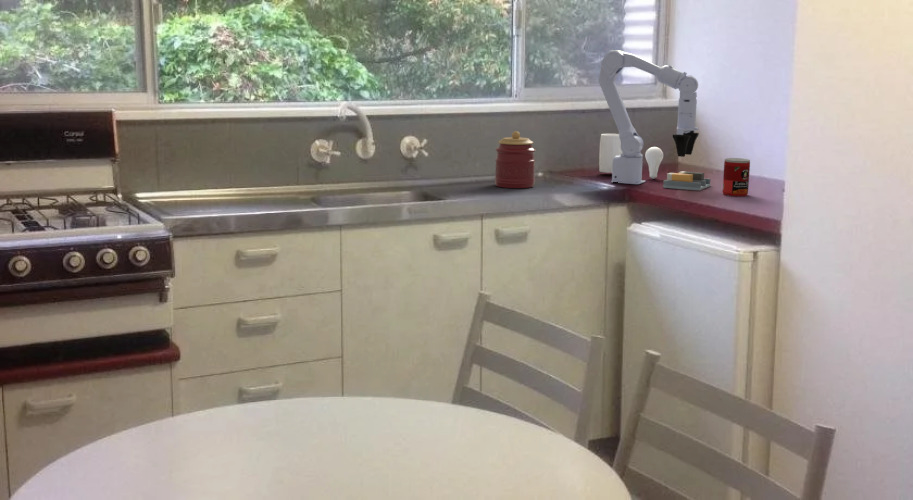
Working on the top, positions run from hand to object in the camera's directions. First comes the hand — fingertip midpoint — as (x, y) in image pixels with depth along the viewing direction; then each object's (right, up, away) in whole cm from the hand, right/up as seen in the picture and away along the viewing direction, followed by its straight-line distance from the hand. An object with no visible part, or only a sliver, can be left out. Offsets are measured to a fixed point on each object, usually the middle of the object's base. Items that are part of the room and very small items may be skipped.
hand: (684, 155), depth 354 cm
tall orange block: (-2, -10, -3) cm, 11 cm away
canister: (-56, -10, -5) cm, 57 cm away
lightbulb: (-7, -7, +19) cm, 21 cm away
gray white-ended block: (+2, -9, +1) cm, 9 cm away
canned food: (+12, -14, -18) cm, 25 cm away
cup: (-20, -5, +28) cm, 35 cm away
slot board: (0, -10, -1) cm, 10 cm away
